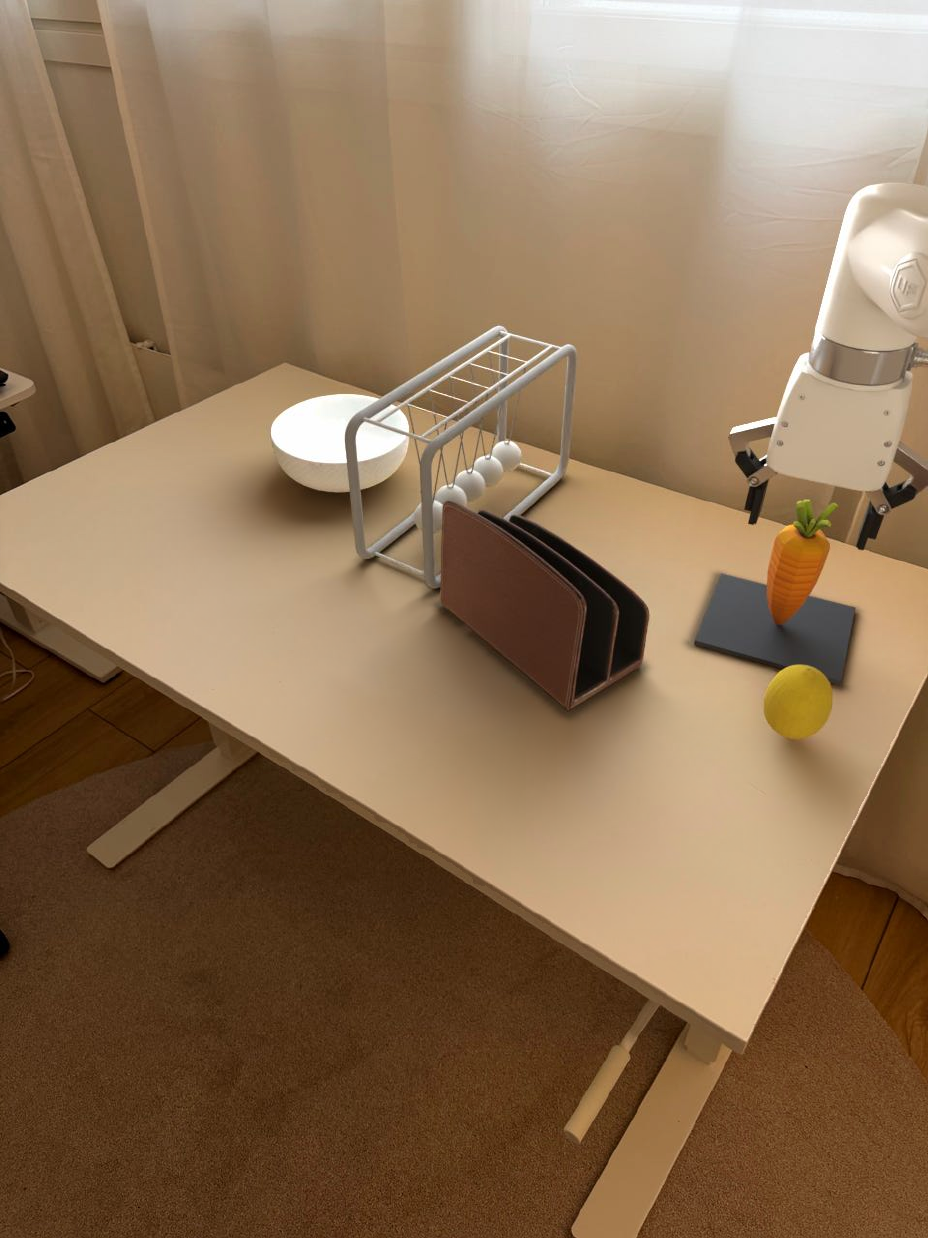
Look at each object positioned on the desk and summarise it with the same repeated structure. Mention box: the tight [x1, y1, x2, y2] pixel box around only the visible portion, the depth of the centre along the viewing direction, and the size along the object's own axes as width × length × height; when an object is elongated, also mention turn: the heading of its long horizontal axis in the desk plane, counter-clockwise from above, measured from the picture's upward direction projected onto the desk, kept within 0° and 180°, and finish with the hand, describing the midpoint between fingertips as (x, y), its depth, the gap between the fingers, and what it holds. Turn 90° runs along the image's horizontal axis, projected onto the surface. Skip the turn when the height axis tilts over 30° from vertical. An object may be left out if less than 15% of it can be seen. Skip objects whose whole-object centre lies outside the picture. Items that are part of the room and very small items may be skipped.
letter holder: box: [439, 501, 651, 712], centre depth 86 cm, size 10×20×14 cm, turn 38°
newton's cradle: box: [345, 325, 578, 589], centre depth 101 cm, size 30×10×18 cm, turn 146°
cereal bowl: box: [270, 393, 410, 493], centre depth 111 cm, size 17×17×7 cm
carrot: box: [766, 499, 839, 625], centre depth 86 cm, size 5×5×15 cm
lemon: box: [762, 665, 834, 740], centre depth 78 cm, size 6×6×8 cm
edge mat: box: [694, 572, 856, 686], centre depth 91 cm, size 14×12×1 cm
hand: (806, 529), depth 83 cm, fingers open, 9 cm apart
